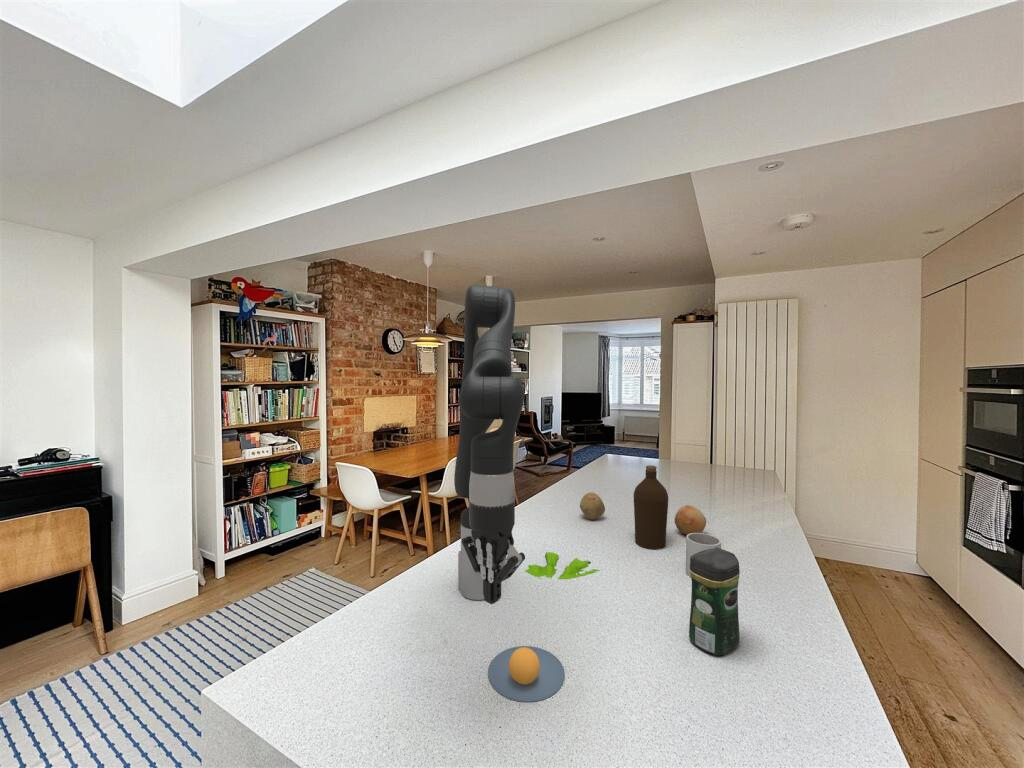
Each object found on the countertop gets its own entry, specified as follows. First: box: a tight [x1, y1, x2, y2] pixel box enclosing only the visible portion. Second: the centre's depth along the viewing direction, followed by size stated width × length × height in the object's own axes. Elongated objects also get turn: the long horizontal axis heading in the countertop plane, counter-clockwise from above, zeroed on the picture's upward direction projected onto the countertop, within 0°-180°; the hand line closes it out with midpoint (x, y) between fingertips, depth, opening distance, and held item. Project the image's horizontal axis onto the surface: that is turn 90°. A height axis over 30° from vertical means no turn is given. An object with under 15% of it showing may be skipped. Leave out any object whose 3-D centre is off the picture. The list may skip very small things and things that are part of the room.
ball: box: [509, 647, 540, 685], centre depth 74 cm, size 6×6×6 cm
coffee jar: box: [688, 547, 741, 656], centre depth 85 cm, size 10×8×19 cm
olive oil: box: [633, 465, 669, 550], centre depth 134 cm, size 11×11×25 cm
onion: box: [674, 504, 707, 536], centre depth 141 cm, size 10×10×10 cm
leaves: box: [524, 551, 601, 580], centre depth 119 cm, size 20×22×2 cm
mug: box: [685, 532, 722, 579], centre depth 114 cm, size 12×9×10 cm
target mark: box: [487, 645, 566, 703], centre depth 76 cm, size 14×14×1 cm
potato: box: [579, 492, 606, 521], centre depth 156 cm, size 9×9×10 cm
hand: (491, 600), depth 69 cm, fingers closed
